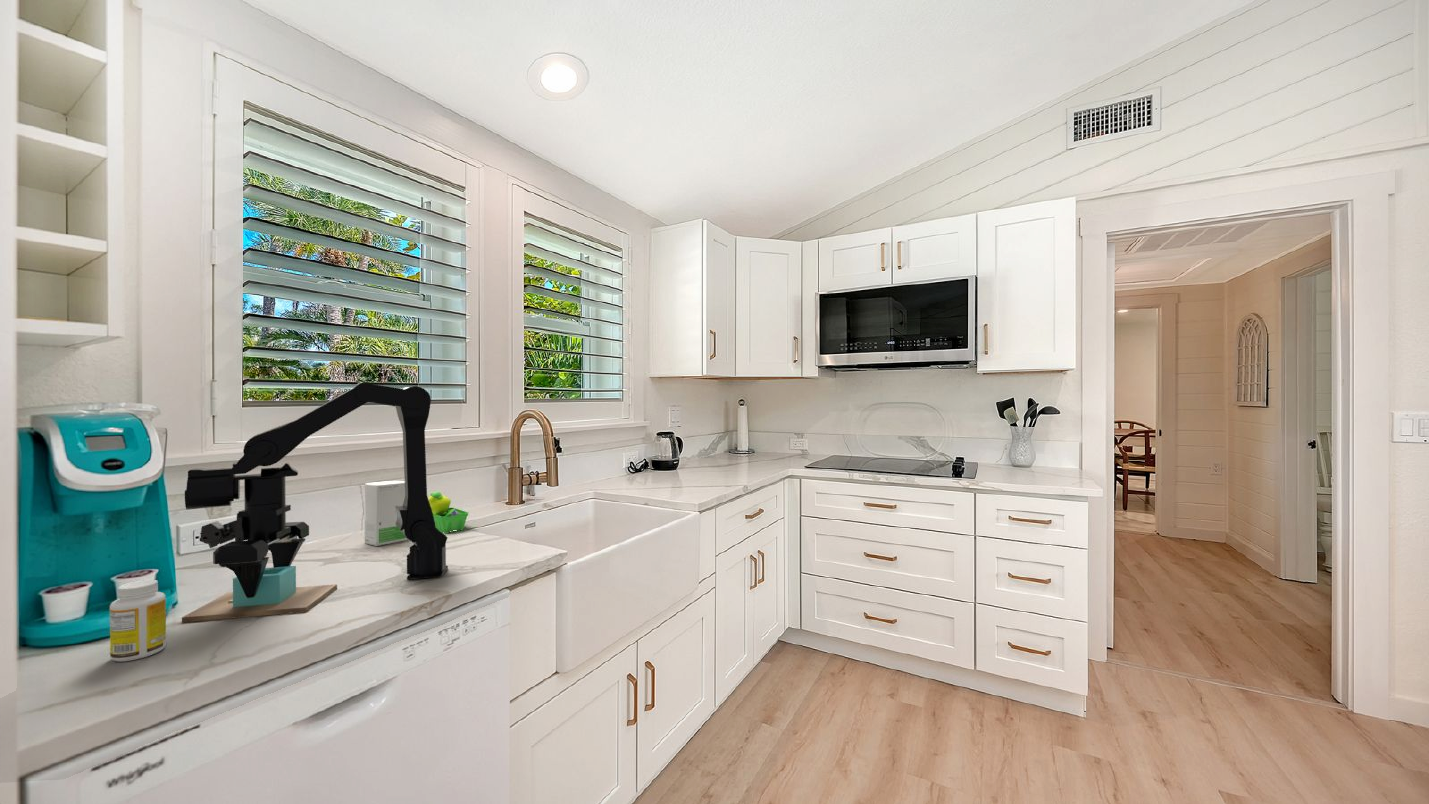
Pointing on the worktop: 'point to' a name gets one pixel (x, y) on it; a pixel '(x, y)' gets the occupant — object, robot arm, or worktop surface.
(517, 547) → the worktop surface
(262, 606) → the base plate
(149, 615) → the supplement bottle
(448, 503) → the fruit basket
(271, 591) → the teal hollow block
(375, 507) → the skincare box
